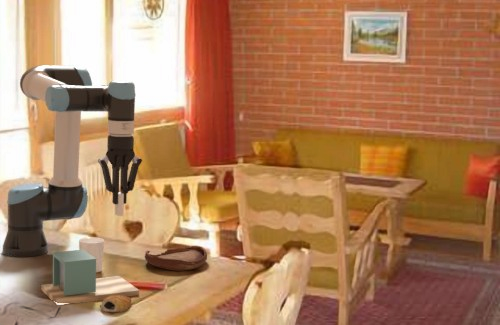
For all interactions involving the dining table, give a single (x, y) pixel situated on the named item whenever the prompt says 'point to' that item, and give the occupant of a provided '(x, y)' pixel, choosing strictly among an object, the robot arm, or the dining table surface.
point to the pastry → (116, 303)
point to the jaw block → (61, 276)
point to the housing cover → (75, 271)
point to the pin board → (103, 290)
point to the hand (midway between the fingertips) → (119, 214)
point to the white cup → (93, 249)
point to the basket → (179, 258)
